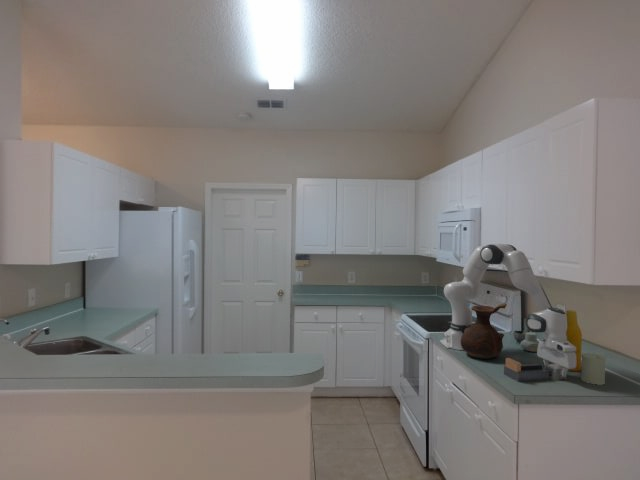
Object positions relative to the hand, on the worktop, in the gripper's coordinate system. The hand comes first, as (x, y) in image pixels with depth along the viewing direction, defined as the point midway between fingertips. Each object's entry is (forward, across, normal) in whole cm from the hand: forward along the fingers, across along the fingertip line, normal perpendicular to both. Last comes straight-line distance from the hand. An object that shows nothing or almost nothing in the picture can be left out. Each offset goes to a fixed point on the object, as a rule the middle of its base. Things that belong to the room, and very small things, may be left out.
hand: (555, 372), depth 188 cm
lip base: (+2, -2, -14) cm, 14 cm away
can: (+2, +8, +13) cm, 15 cm away
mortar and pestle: (+2, -54, +26) cm, 60 cm away
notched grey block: (+2, 0, 0) cm, 2 cm away
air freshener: (+2, -40, +20) cm, 45 cm away
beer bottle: (+2, -9, +17) cm, 19 cm away
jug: (+2, -35, -15) cm, 38 cm away
